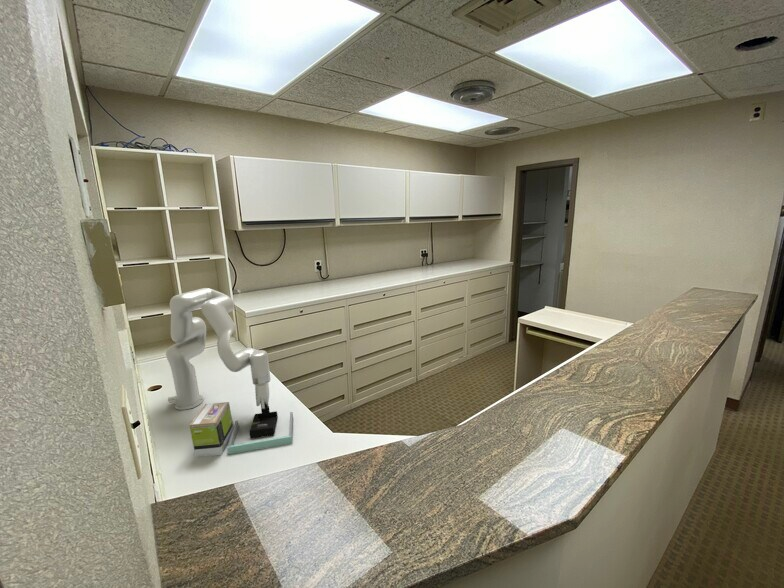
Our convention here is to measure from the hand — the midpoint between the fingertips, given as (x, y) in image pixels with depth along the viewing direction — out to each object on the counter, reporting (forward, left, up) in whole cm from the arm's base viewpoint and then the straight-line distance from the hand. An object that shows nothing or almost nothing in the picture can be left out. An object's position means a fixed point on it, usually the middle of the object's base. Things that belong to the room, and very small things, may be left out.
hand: (266, 415), depth 161 cm
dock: (0, -13, -1) cm, 13 cm away
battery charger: (0, -8, -2) cm, 9 cm away
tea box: (-18, -14, -1) cm, 23 cm away
